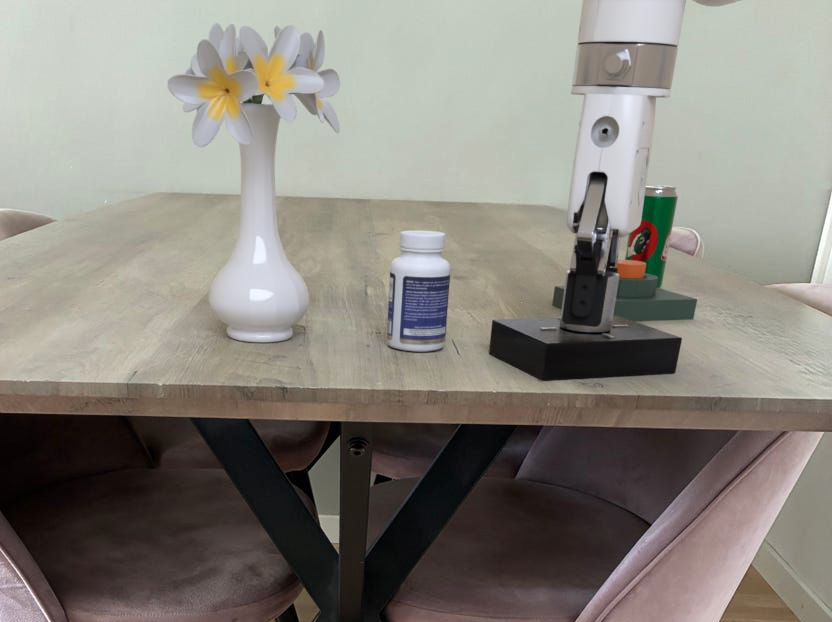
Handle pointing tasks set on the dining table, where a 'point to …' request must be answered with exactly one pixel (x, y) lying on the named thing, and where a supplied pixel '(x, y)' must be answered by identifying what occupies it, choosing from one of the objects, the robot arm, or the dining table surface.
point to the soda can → (654, 230)
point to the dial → (607, 309)
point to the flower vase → (256, 162)
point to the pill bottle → (418, 293)
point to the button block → (644, 301)
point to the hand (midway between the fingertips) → (586, 317)
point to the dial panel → (583, 349)
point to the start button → (631, 269)
